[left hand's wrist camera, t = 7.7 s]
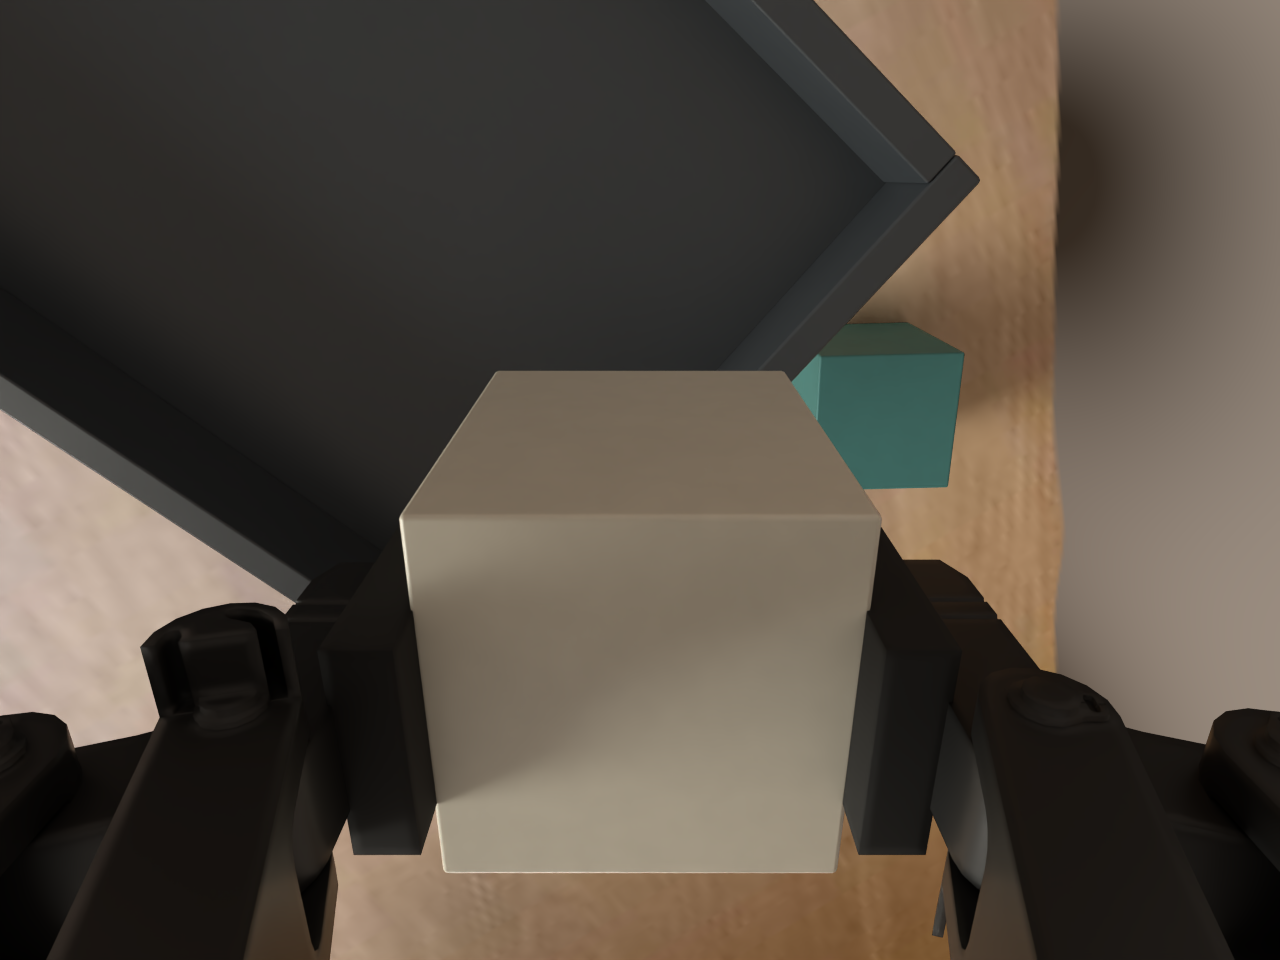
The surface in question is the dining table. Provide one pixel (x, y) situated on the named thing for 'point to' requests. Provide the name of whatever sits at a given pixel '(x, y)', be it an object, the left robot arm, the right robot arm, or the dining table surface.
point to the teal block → (887, 403)
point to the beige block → (640, 625)
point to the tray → (416, 229)
